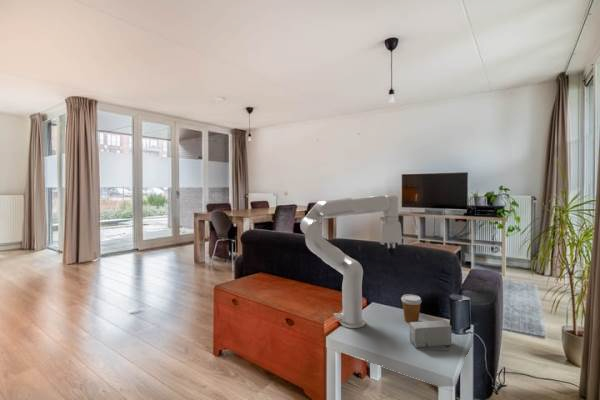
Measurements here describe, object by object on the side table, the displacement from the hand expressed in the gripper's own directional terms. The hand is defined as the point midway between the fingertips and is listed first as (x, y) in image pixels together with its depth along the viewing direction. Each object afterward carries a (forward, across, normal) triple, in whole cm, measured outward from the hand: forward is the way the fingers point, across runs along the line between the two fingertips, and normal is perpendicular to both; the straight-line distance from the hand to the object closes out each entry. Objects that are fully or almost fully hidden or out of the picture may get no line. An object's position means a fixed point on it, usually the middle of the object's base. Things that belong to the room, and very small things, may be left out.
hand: (391, 255), depth 154 cm
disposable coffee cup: (+32, +9, -3) cm, 34 cm away
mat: (+32, +12, -24) cm, 42 cm away
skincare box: (+28, +4, -26) cm, 39 cm away
